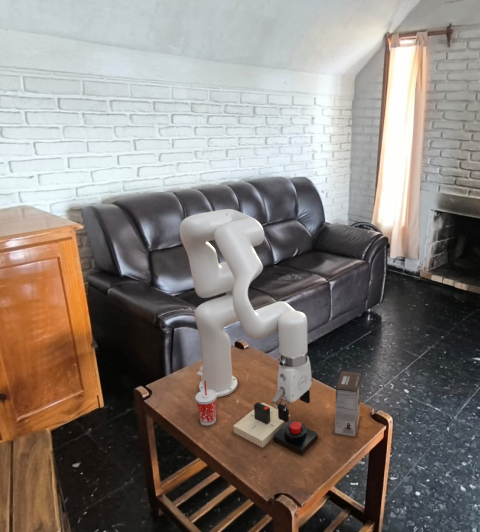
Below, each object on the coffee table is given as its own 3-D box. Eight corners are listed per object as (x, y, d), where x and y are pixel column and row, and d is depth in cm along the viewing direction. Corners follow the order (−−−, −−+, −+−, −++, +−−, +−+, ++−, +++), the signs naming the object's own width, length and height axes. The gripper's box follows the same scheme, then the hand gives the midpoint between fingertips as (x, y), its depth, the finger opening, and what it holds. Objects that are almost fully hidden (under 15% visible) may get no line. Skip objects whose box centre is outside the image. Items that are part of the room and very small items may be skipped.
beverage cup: (207, 430, 129) (204, 390, 124) (193, 422, 132) (189, 382, 127) (222, 418, 134) (220, 379, 129) (208, 411, 137) (205, 372, 132)
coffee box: (339, 413, 137) (341, 369, 132) (359, 417, 136) (362, 372, 131) (334, 433, 129) (335, 387, 123) (355, 437, 128) (358, 391, 122)
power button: (287, 431, 124) (287, 426, 124) (294, 425, 127) (294, 420, 126) (296, 435, 123) (296, 430, 122) (303, 429, 125) (303, 424, 124)
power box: (273, 441, 125) (272, 430, 124) (290, 426, 132) (290, 415, 130) (301, 456, 120) (301, 445, 119) (317, 439, 127) (318, 428, 125)
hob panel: (233, 432, 128) (233, 425, 127) (262, 408, 139) (262, 401, 138) (262, 447, 123) (262, 440, 122) (290, 422, 133) (290, 414, 132)
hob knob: (254, 418, 130) (253, 404, 129) (258, 415, 132) (257, 401, 130) (266, 424, 128) (266, 410, 126) (270, 421, 129) (270, 407, 128)
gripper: (284, 376, 108) (286, 433, 113) (323, 347, 122) (322, 399, 127) (261, 367, 112) (263, 422, 117) (301, 339, 125) (301, 390, 131)
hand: (294, 410), depth 122 cm, fingers open, 9 cm apart
